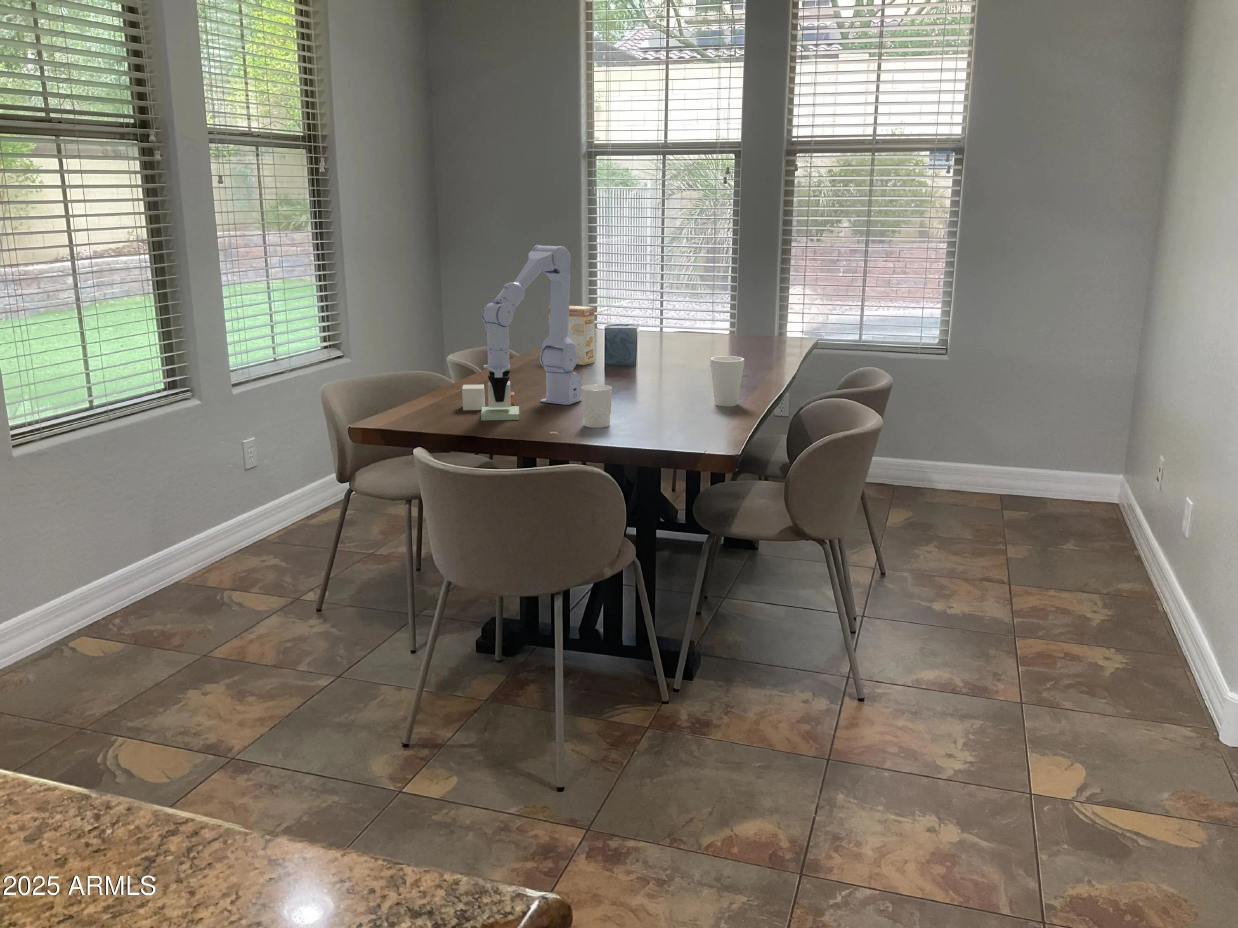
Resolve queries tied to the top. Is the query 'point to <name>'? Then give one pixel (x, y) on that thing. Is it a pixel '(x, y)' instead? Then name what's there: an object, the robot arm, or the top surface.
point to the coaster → (500, 413)
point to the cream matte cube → (491, 398)
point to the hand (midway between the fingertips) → (499, 399)
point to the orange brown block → (512, 398)
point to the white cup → (596, 405)
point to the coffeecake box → (582, 333)
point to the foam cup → (726, 379)
